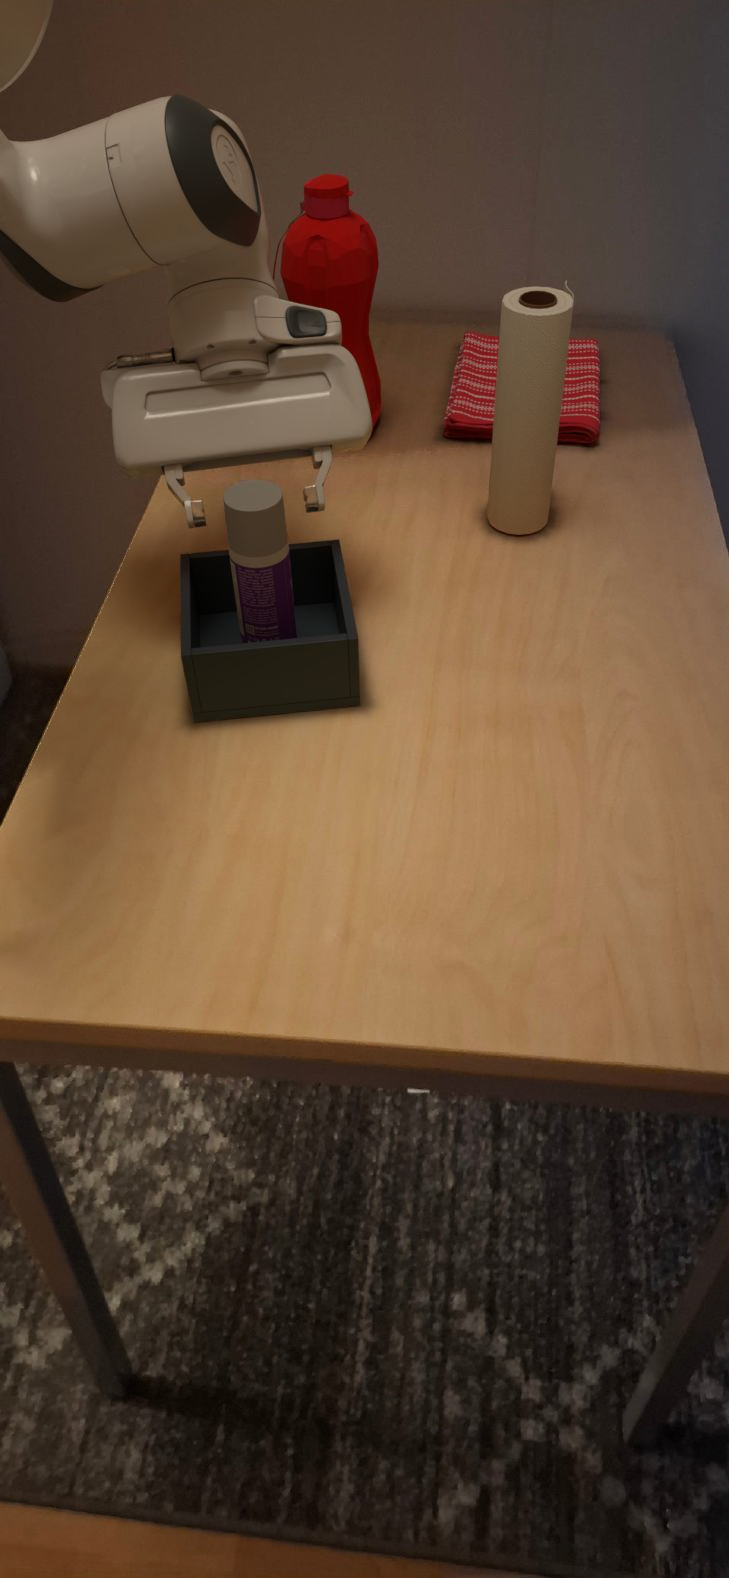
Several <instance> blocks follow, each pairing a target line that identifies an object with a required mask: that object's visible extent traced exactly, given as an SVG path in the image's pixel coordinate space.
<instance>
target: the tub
mask: <svg viewBox="0 0 729 1578" xmlns="http://www.w3.org/2000/svg"><path fill="white" fill-rule="evenodd" d="M288 544H289V552H290V564H291V575H292V586H293V598H294V609H295V620H296V632H297V638H293V639H283V640H272V641H262V642H252V643H242V642H241V635H240V628H239V620H238V613H237V606H236V599H235V592H234V585H233V578H232V571H231V564H230V557H229V548H228V549H219V550H209V551H208V550H207V551H198V552H197V551H195V552H190V553H189V552H185V553H180V554H179V559H180V560H179V567H180V568H179V582H180V585H179V586H180V588H179V589H180V595H179V597H180V598H179V599H180V603H179V604H180V605H179V606H180V609H179V610H180V611H179V612H180V660H181V665H182V670H183V674H184V681H185V683H186V684H185V685H186V690H187V694H188V695H187V696H188V700H189V704H190V711H191V715H192V720H193V722H194V723H201V722H210V721H211V722H212V721H221V720H222V721H223V720H232V719H242V718H251V717H260V716H271V715H280V714H291V713H299V712H309V711H310V712H311V711H318V710H319V711H320V710H327V709H328V710H329V709H339V708H349V707H358V706H359V707H360V706H361V705H362V703H361V702H362V701H361V676H360V673H361V671H360V649H359V635H358V630H357V624H356V620H355V619H356V618H355V613H354V608H353V604H352V599H351V593H350V588H349V582H348V578H347V577H348V576H347V573H346V572H347V571H346V567H345V561H344V556H343V551H342V547H341V541H340V539H330V540H328V539H327V540H317V541H316V540H315V541H307V542H294V543H288Z"/></svg>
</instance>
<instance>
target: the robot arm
mask: <svg viewBox="0 0 729 1578" xmlns="http://www.w3.org/2000/svg"><path fill="white" fill-rule="evenodd" d="M54 1H55V0H0V93H2V92H4V91H5V90H6V89H8V87H10V86H12V84H14V83H15V82H16V81H17V80H18V79H19V77H21V75H22V74H23V73H24V72H25V70H26V69H27V68H28V67H29V65H30V64H31V62H32V60H33V59H34V57H35V55H36V54H37V51H38V50H39V48H40V47H41V46H40V45H41V43H42V41H43V39H44V37H45V34H46V31H47V28H48V24H49V21H50V18H51V14H52V10H53V5H54ZM270 248H271V239H270V231H269V226H268V219H267V214H266V210H265V204H264V199H263V194H262V191H261V187H260V183H259V180H258V176H257V173H256V169H255V166H254V161H253V158H252V156H251V153H250V150H249V147H248V144H247V141H246V139H245V137H244V134H243V132H242V130H241V129H240V127H239V126H238V125H237V124H236V123H235V121H233V120H232V119H231V118H229V117H228V116H227V115H225V114H224V113H222V112H219V111H217V110H214V109H211V108H208V107H206V106H205V105H203V104H201V103H200V102H198V101H196V100H194V99H192V98H190V97H188V96H187V95H183V94H181V93H175V94H172V95H167V96H161V97H158V98H155V99H152V100H148V101H146V102H142V103H140V104H138V105H135V106H132V107H129V108H126V109H123V110H121V111H118V112H115V113H112V114H111V115H110V116H106V117H104V118H101V119H98V120H96V121H93V122H91V123H87V124H85V125H82V126H79V127H77V128H76V127H75V128H74V129H71V130H68V131H66V132H62V133H60V134H57V135H54V136H50V137H48V138H42V139H38V140H30V141H17V140H16V141H15V140H10V139H9V138H8V137H7V136H6V135H5V133H4V132H3V130H2V129H1V128H0V261H1V262H2V264H3V265H4V266H5V268H6V269H7V270H8V272H9V273H10V274H11V275H12V277H14V278H15V279H16V280H17V281H18V282H19V283H20V284H22V285H23V286H25V288H27V289H29V290H30V291H32V292H34V293H35V294H37V295H39V296H40V297H43V298H45V299H47V300H49V301H52V302H55V303H67V302H69V301H70V302H71V301H72V300H74V299H77V298H79V297H82V296H83V295H86V294H88V293H91V292H94V291H96V290H99V289H100V288H102V287H104V286H105V285H108V284H110V283H114V282H117V281H120V280H124V279H127V278H130V277H133V276H136V275H139V274H142V273H147V272H149V271H152V270H155V269H159V268H161V267H162V268H163V269H164V272H165V273H164V274H165V276H166V282H167V290H166V297H165V298H166V299H165V304H166V305H165V306H166V313H167V320H168V326H169V332H170V338H171V344H172V347H171V348H164V349H163V348H161V349H154V350H149V351H145V352H142V353H141V352H139V353H132V352H128V353H127V352H126V353H121V354H118V355H116V356H115V357H114V358H115V360H112V361H109V362H108V363H106V364H105V366H104V367H103V368H102V369H101V372H100V375H99V388H100V393H101V399H102V402H103V405H104V406H105V408H106V409H107V410H108V411H109V412H110V413H111V433H112V442H113V452H114V458H115V461H116V465H117V466H118V469H119V470H120V471H122V472H123V473H124V474H125V475H126V476H127V477H128V478H130V479H143V478H149V477H157V476H164V477H165V483H166V486H167V489H168V491H170V492H171V494H172V495H173V496H174V497H175V499H176V500H177V501H178V502H179V504H180V505H181V506H182V507H183V508H184V511H185V518H186V524H187V528H188V529H196V528H202V527H208V526H207V518H206V513H205V512H206V511H205V506H204V501H203V499H197V500H196V499H194V500H192V498H191V497H190V495H189V494H188V493H187V491H186V490H185V489H184V488H183V487H184V486H186V481H185V474H184V473H190V472H198V471H205V470H214V469H222V468H223V469H224V468H230V467H239V466H246V465H253V464H262V463H270V462H278V461H287V460H295V459H302V458H303V459H304V458H311V462H312V468H313V469H314V470H318V473H317V476H316V478H315V481H314V483H313V484H312V485H307V486H306V485H305V486H303V490H302V496H303V501H304V502H305V504H304V508H305V513H306V514H309V513H310V514H311V513H320V512H325V509H326V501H325V500H326V499H325V494H324V486H325V483H326V481H327V478H328V475H329V472H330V471H331V468H332V463H333V455H334V454H342V453H350V452H358V451H361V450H363V449H364V447H365V446H366V444H367V443H368V442H369V440H370V438H371V436H372V433H373V430H372V418H371V412H370V407H369V402H368V398H367V394H366V390H365V386H364V383H363V380H362V376H361V373H360V370H359V367H358V365H357V363H356V361H355V359H354V357H353V356H352V354H351V353H350V352H349V351H348V350H347V349H346V348H344V347H342V346H341V344H342V327H341V321H340V317H339V315H338V314H337V313H335V312H334V311H331V310H327V309H323V308H318V307H313V306H308V305H303V304H298V303H294V302H290V301H288V300H286V299H283V298H282V299H281V298H280V296H279V292H278V287H277V284H276V283H275V279H274V280H273V275H272V273H271V270H270V265H269V264H270V262H269V256H270V251H271V249H270ZM114 367H116V368H114Z"/></svg>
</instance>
